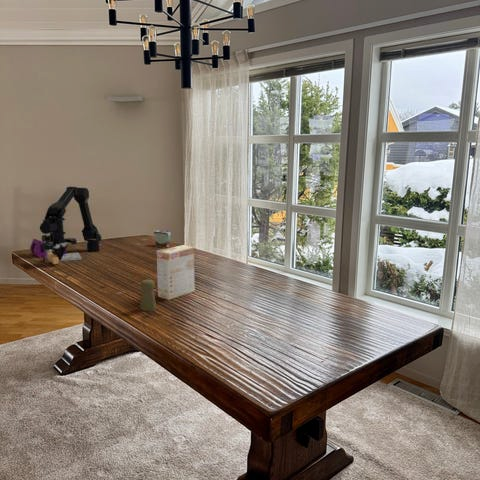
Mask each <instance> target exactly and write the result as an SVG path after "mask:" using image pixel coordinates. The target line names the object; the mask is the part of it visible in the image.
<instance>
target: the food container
mask: <svg viewBox="0 0 480 480" xmlns="http://www.w3.org/2000/svg"><path fill="white" fill-rule="evenodd" d="M153 234H154V235H153V237H154V244H155V245H154V246H155V247H157V248H163V249H167V248H170V238H171V237H170V236H171V235H172V234H171V231H170V230H167V229H155V230H153Z"/></svg>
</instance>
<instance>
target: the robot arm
mask: <svg viewBox="0 0 480 480" xmlns="http://www.w3.org/2000/svg"><path fill="white" fill-rule="evenodd" d="M72 199H73V200H74V201H75V202H76V203H77V204H78V208H79V211H80V214H81V219H82V223H83V229H82V230H81V233H82V237H83V240H84V242H86V243H85V244H86V245H85V246H86V251H87V252H88V253H93V252H100V242H101V241H102V238H103V237H102V235H101V234H100V232H99V230H98V228H97V227H96V225H95V224H94V223H93V219H92V215H91V212H90V207H89V206H90V205H89V202H88V201H89V199H90V190H89V189H88V188H87V187H77V186H67V187H65V190H64V192H63V193H62V195H61V196H60V197H59V198H58V199H57V201H55V202H54V203H52V204H51V205H50V206H48V208H47V211H46V213H45V216H44V219H43V220H42V223H40V226H39V230H40V232H41V234H44V235H41V241H43V242H46V243H41V244H40V249H43V250H50V249H51V250H52V251H54V253H55V254H56V255H57V257H58V259H59V260H61V259H62V257H63V254H65V253H64V252H65V250H67V248H69V245H67V244H71V245H76V244H77V243H78V242H77V241H78V240H77V239H76V238H75V237H66V238H65V235H66V231H64V221H65V220H66V218H64V216H65V214H66V212H67V210H66V208H67V206H68V205H69V204H70V203H71V200H72ZM48 234H49V235H48Z"/></svg>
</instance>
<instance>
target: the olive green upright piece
mask: <svg viewBox="0 0 480 480" xmlns="http://www.w3.org/2000/svg"><path fill="white" fill-rule="evenodd" d="M155 286H156V285H155V281H154V280H152V279H143V280H141V282H140V289H141V299H140V305H139V306H140V307H139V309H140V310H141V311H143V312H151V311H154V310H156V309H157V303H156V298H155V296H156V295H155V292H154V288H155Z"/></svg>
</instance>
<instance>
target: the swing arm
mask: <svg viewBox="0 0 480 480" xmlns="http://www.w3.org/2000/svg"><path fill="white" fill-rule="evenodd" d="M52 251H53V249H50V250H46V258H47V259H48V260H50V261H51V262H50V263H52V264H53V265H56V264H57V265H58V264H59V262H60V261H58V257H57V256H55V255H54V253H53V252H52Z"/></svg>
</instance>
